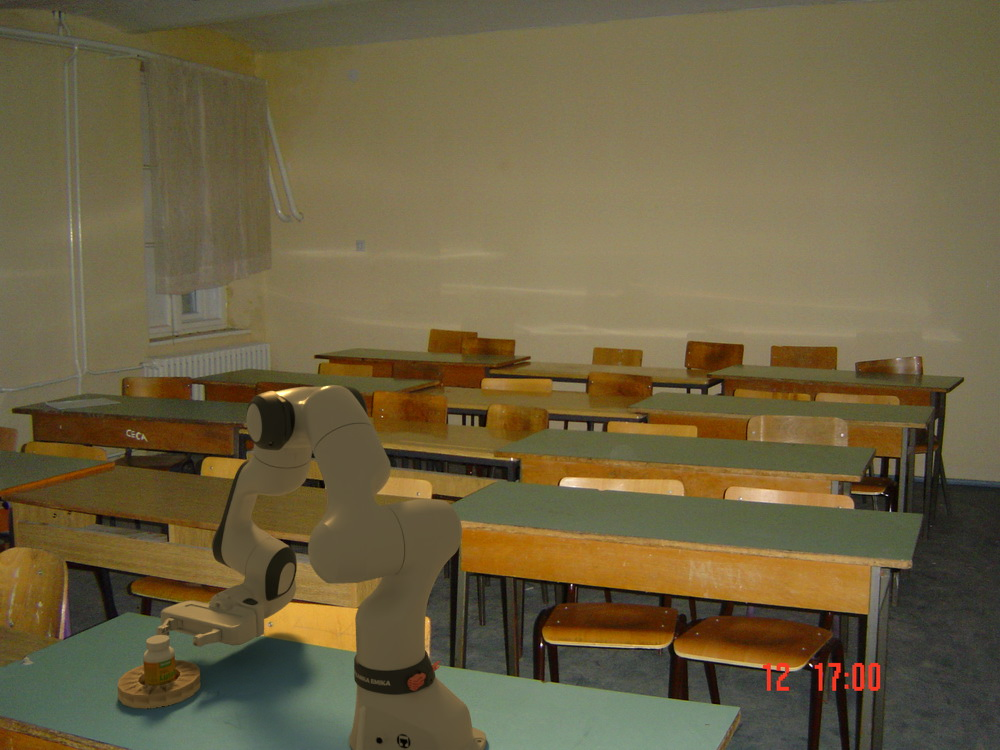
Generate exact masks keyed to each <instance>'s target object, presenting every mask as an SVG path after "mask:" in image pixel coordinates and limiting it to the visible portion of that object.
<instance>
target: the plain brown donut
mask: <svg viewBox="0 0 1000 750" xmlns="http://www.w3.org/2000/svg"><path fill="white" fill-rule="evenodd" d="M175 667H176V680H174V681H172V682H171V683H167V684H164V685H158V686H145V676H144V664H142V665H139V666H136V667H134V668H132V669H130V670H129V671H126V672H125V673H124V674H123V675H122V676H121V677H119V679H118V682H117V696H118V700H119V701H120V703H121V704H122V705H123V706H127V707H130V708H132V709H146V710H147V708H149V709H148V710H151V709H157V708H156V707H158V708H163V707H162V706H165V707H169V706H171V705H175V704H178V703H181V702H184V701H185V700H186V699H188V698H191V697H192V696H194V695H195V694H196V693H197V692H198V691H199V690H200V689H201V682H200V680H201V668H200V666H198V665H197V664H196V663H194V662H191V661H187V660H184V659H175ZM198 689H199V690H198ZM197 690H198V691H197ZM196 691H197V692H196ZM195 692H196V693H195ZM194 693H195V694H194ZM168 705H169V706H168ZM150 708H151V709H150Z"/></svg>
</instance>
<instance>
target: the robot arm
mask: <svg viewBox="0 0 1000 750" xmlns="http://www.w3.org/2000/svg"><path fill="white" fill-rule="evenodd" d="M368 412H369V411H368V406H367V402H366V400H365V397H364V396H363V395H362V393H361V392H360V391H359V390H358V389H356V388H355V387H352V386H349V385H337V384H330V385H325V386H300V387H291V388H287V389H286V388H285V389H281V390H277V391H274V390H269V391H265V392H262V393H259V394H257V395H255V396H253V397H252V399H251V400H250V402H249V403H248V406H247V407H246V417H245V419H246V420H245V421H246V422H245V423H246V428H247V433H248V436H249V438H250V441H252V443H253V449H252V451H253V452H252V455H251V457H250V458H249V459H247V460H244V461H243V463H241V465H240V466H239V467H238V469H237V471H236V473H235V475H234V478H233V481H232V483H231V487H230V491H229V493H228V498H227V500H226V504H225V506H224V511H223V514H222V518H221V521H220V524H219V525H218V527H217V529H216V531H215V533H214V535H213V537H212V538H213V539H212V541H211V542H212V543H211V549H212V555H213V558H214V559H215V560H216V562H217V563H219V564H221V565H224V566H225V567H228V568H230V569H232V570H234V572H237V573H238V574H239V575H241V576H242V577H244V580H243V582H242V583H240V584H237V585H233V586H231V587H229V588H226V589H224V590H223V591H220V592H218V593H215V594H214V595H213V596H212V597H211V599H210V600H209V603H207V602H203V601H198V600H185V601H181V602H179V603H176V604H173V605H170V606H167V607H164V608H162V610H161V611H160V625H159V626H157V627H156V631H155V632H156V633H155V634H156V635H167V636H168V637H169V636H170V631H171V632H173V631H174V632H178V633H182V634H186V635H190V636H193V638H192V644H193V646H194V647H195V646H196V647H198V648H202V647H204V646H205V645H210V644H215V643H222V644H225V645H229V646H241V645H244V644H246V643H247V642H249V641H252V640H253V639H255V638H258V637H259V638H260V637H261V636H263V635H264V633H265V620H266V619H268V618H270V617H272V616H273V615H275V614H277V613H278V612H280V611H282V610H283V609H284V608H285V607H286V606H287V605H289V604H290V603H291V601H293V599H294V598H295V595H296V592H297V584H296V583H297V582H296V576H297V566H298V564H297V563H298V562H297V555H296V551H295V550H294V549H293V548H292V547H290V545H288V544H286V543H284V542H283V541H281V540H280V539H278V538H277V537H274V536H272V535H271V534H270V533H267V532H266V531H264V530H263V529H261V528H260V527H258V526H257V524H255V523H254V521H253V519H252V514H253V510H254V508H255V504H256V501H257V498H258V495H263V496H266V497H267V496H268V497H276V496H278V497H279V496H284V495H287V494H290V493H292V492H294V491H296V490H297V489H299V488H300V487H301V486H302V485H303V484H304V483H305V482H306V480H307V478H308V476H309V473H310V469H311V461H312V454H313V456H314V458H315V461H316V463H317V466H318V468H319V471H320V474H321V477H322V480H323V482H324V486H325V490H326V493H327V494H326V496H327V497H326V498H327V501H326V502H327V503H326V508H325V512H324V513H323V515H322V518H321V519H320V520H319V521H318V523H317V524H316V525H315V527H314V528H313V529H312V532H311V534H310V537H309V540H308V546H307V554H308V560H309V562H310V565H311V567H312V569H313V571H314V572H315V574H316V575H317V576H318V577H319V578H320V579H321V580H322V581H324V582H325V583H327V584H328V585H329V584H334V585H335V584H336V585H337V584H340V585H341V584H342V585H343V584H360V583H364V582H367V581H368V582H369V581H372V580H376V579H379V578H381V579H380V580H379V582H378V584H377V586H376V587H375V588H374V589H373V591H372V592H371V593H369V594H368V595H367V596H366V597H365V598H364V599H363V600H362V601H361V603H360V604H359V606H358V608H357V610H356V613H355V618H354V619H355V620H354V621H355V622H354V623H355V624H354V625H355V647H356V648H355V650H356V652H355V653H356V654H355V656H354V659H353V662H354V663H353V670H354V671H353V675H354V682H355V683H356V693H355V694H356V698H355V709H354V717H353V723H352V727H351V732H350V736H349V739H348V743H349V747H350V748H351V750H485V749H486V746H487V735H486V733H485V732H484V731H482V730H480V729H478V728H476V727H473V723H472V719H471V718H472V717H471V713H470V710H469V708H468V706H467V705H466V703H465V702H464V701H462V700H461V698H459V697H458V696H457V695H456V694H455V693H453V691H451V690H450V688H448V687H447V685H445V684H444V683H443V682H442V681H441V680H440V679H438V677H436V673H435V672H436V671H437V670H438V669H439V668H440V667H441V666H440V662H441V661H440V660H437V661H435V662H434V663H433V664H432V662H431V659H430V656H429V654H428V652H427V650H426V615H427V614H426V613H427V606H428V602H429V598H430V595H431V592H432V590H433V587H434V584H435V582H436V580H437V579H438V577H439V574H440V572H441V571H442V569H443V567H444V566H445V564H446V565H447V562H448V561H449V560H450V559H451V558H452V557H453V556H454V555H455V554H456V553H457V552H458V549H460V548H459V547H460V545H461V541H462V537H463V528H462V522H461V520H460V519H461V518H460V516H459V514H458V512H457V511H456V509H455V508H454V507H453V505H451V504H450V503H449V502H447V501H446V500H443V499H431V498H429V499H428V498H426V499H425V498H424V499H423V498H417V499H411V500H406V501H399V502H394V503H390V504H382V505H380V504H378V502H376V499H375V497H374V496H376V495H377V494H378V493H380V492H381V491H382V489H383V488H384V487H385V486H386V484H387V483H388V481H389V479H390V476H391V468H392V467H391V461H390V459H389V457H388V455H387V453H386V450H385V449H384V447H383V443H382V442H381V440H380V437H379V436H378V433H377V431H376V428H375V427H374V425H373V423H372V421H371V419H370V418H369V415H368Z"/></svg>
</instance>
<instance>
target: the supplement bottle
mask: <svg viewBox="0 0 1000 750" xmlns="http://www.w3.org/2000/svg"><path fill="white" fill-rule="evenodd" d="M145 642H146V645H145V646H146V651H145V652H144V654H143V657H142V658H143V659H142V660H143V661H142V663H143V665H144V676H145V686H158V685H164V684H167V683H171V682H172V681H174V680H176V667H175V660H176V656H175V655H176V654H175V653H176V652H175V649H174V648H173V647H172V646H171V644H170V643H171V642H170V637H169V635H168V636H167V635H157V634H156V635H153V636H150V637H148V638H147V639H146V641H145Z"/></svg>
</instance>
